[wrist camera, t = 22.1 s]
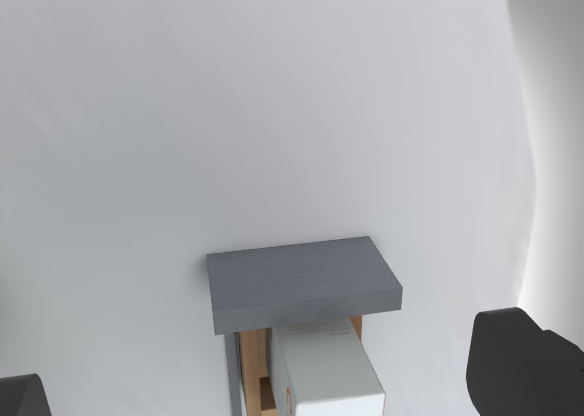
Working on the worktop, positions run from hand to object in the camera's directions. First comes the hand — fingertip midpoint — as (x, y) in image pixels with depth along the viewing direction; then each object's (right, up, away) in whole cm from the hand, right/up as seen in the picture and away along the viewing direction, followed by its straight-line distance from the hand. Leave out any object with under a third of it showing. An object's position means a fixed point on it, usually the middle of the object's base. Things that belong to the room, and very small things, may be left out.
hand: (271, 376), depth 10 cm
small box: (+1, -7, +39) cm, 40 cm away
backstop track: (0, -9, +41) cm, 42 cm away
